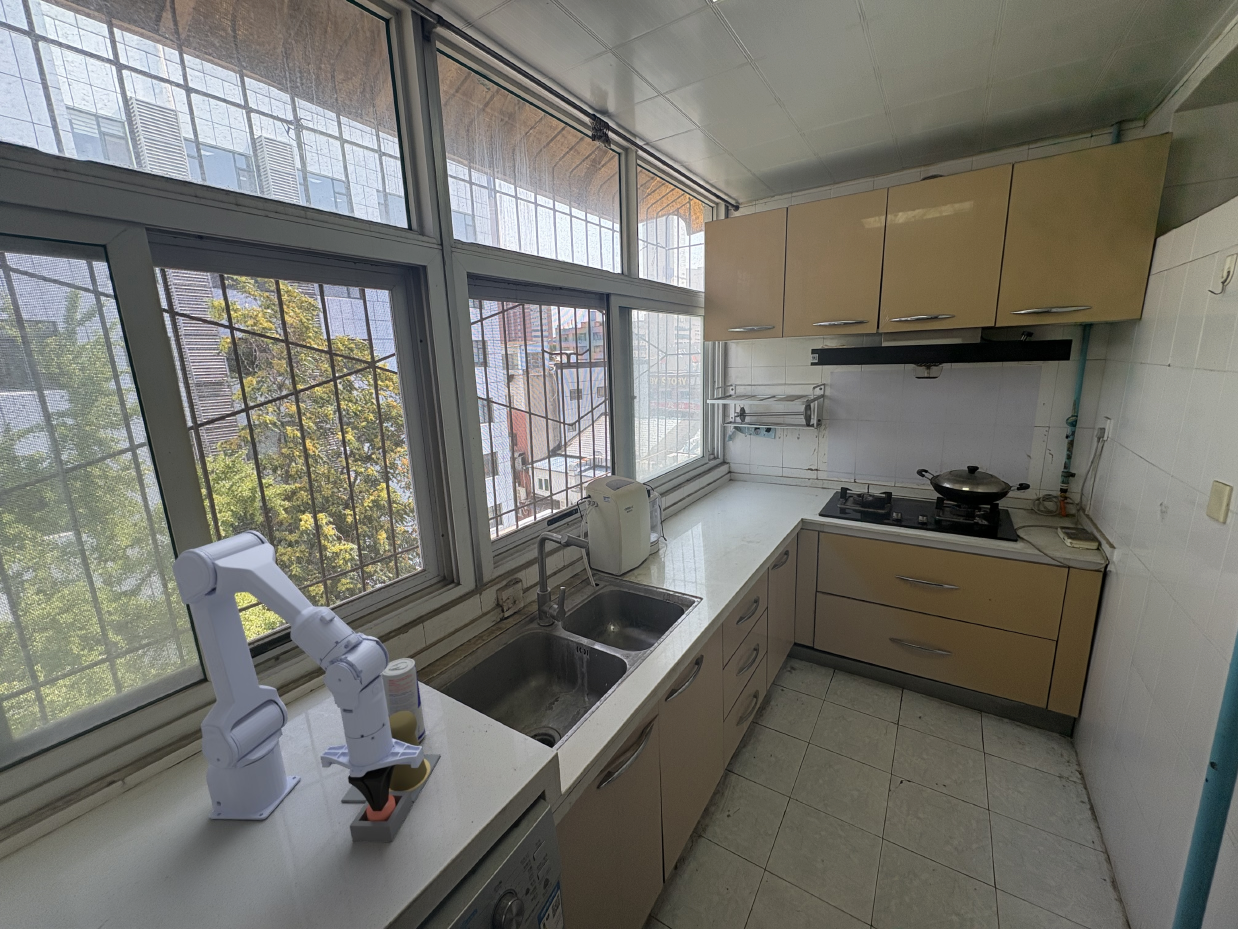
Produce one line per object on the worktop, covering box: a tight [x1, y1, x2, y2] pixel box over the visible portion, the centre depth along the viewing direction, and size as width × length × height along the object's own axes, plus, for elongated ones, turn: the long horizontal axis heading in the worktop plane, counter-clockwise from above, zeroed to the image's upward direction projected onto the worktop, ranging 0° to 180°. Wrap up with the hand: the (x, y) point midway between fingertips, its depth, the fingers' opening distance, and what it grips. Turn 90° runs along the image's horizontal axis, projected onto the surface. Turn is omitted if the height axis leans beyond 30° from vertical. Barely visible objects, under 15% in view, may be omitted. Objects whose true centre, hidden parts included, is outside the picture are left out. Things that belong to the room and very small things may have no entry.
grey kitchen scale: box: [340, 753, 441, 804], centre depth 81 cm, size 12×10×1 cm
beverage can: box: [381, 657, 426, 744], centre depth 89 cm, size 6×6×15 cm
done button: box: [366, 795, 396, 821], centre depth 73 cm, size 4×4×2 cm
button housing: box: [349, 791, 413, 843], centre depth 73 cm, size 6×6×3 cm
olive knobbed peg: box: [389, 711, 427, 791], centre depth 80 cm, size 6×6×11 cm
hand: (380, 805), depth 72 cm, fingers closed, pressing on done button
